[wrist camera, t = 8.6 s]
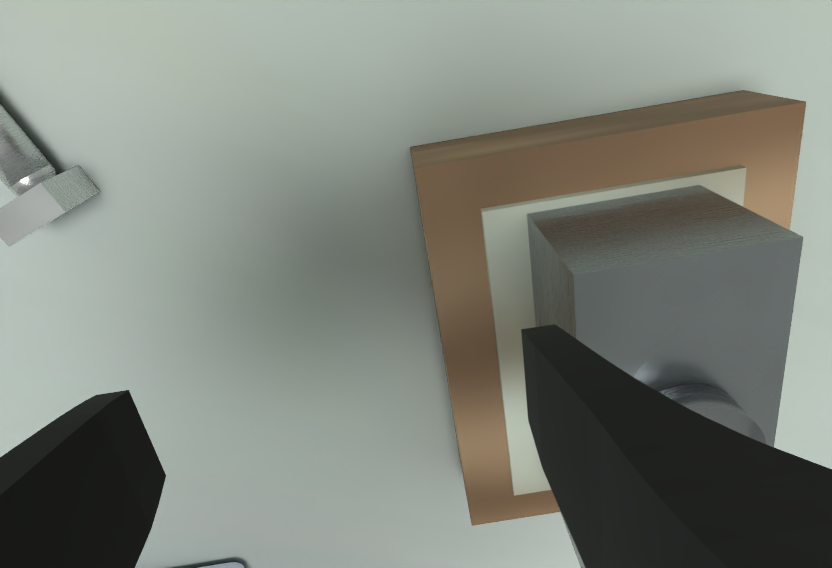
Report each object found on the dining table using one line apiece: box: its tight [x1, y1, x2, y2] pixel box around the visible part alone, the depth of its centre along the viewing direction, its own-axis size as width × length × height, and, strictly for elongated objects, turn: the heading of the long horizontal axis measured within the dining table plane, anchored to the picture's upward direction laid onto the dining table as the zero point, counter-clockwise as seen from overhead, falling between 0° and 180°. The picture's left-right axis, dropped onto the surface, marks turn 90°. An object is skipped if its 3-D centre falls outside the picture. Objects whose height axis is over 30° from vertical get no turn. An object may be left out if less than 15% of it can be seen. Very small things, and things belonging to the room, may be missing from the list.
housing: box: [527, 185, 803, 568], centre depth 16 cm, size 10×5×5 cm, turn 9°
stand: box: [410, 90, 806, 525], centre depth 20 cm, size 14×11×3 cm
